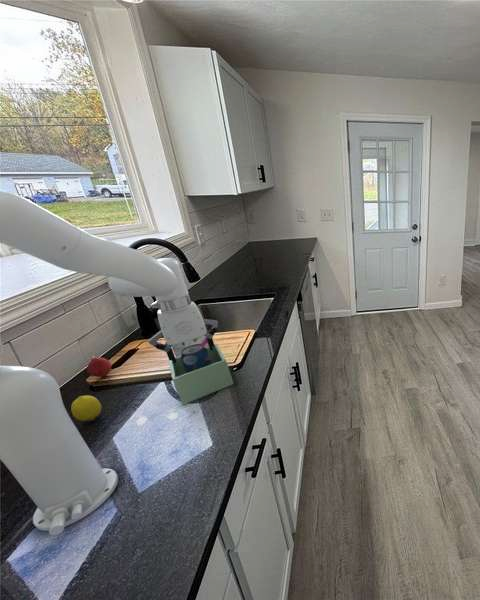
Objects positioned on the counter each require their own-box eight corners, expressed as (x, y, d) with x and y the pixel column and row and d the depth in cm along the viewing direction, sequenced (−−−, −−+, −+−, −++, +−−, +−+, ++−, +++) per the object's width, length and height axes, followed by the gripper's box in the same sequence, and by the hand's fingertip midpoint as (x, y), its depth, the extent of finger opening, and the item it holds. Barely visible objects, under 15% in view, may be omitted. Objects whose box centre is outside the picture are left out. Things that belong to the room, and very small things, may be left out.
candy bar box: (200, 353, 116) (185, 313, 110) (213, 352, 116) (199, 312, 110) (180, 371, 106) (162, 328, 100) (194, 370, 106) (178, 327, 99)
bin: (233, 384, 97) (225, 360, 94) (182, 404, 90) (172, 379, 86) (224, 365, 107) (216, 343, 104) (177, 383, 100) (168, 359, 96)
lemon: (90, 428, 83) (76, 404, 80) (74, 426, 84) (59, 402, 81) (111, 413, 88) (99, 390, 85) (96, 411, 89) (83, 389, 86)
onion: (117, 374, 107) (107, 354, 104) (96, 383, 102) (85, 363, 99) (111, 369, 110) (101, 350, 107) (90, 378, 105) (79, 358, 102)
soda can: (205, 389, 94) (192, 355, 90) (186, 387, 96) (172, 354, 91) (221, 375, 101) (210, 343, 96) (204, 374, 102) (192, 342, 97)
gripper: (136, 315, 80) (159, 372, 86) (211, 297, 90) (227, 349, 96) (136, 307, 86) (158, 361, 92) (207, 291, 95) (222, 340, 102)
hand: (193, 355), depth 94 cm, fingers open, 9 cm apart
